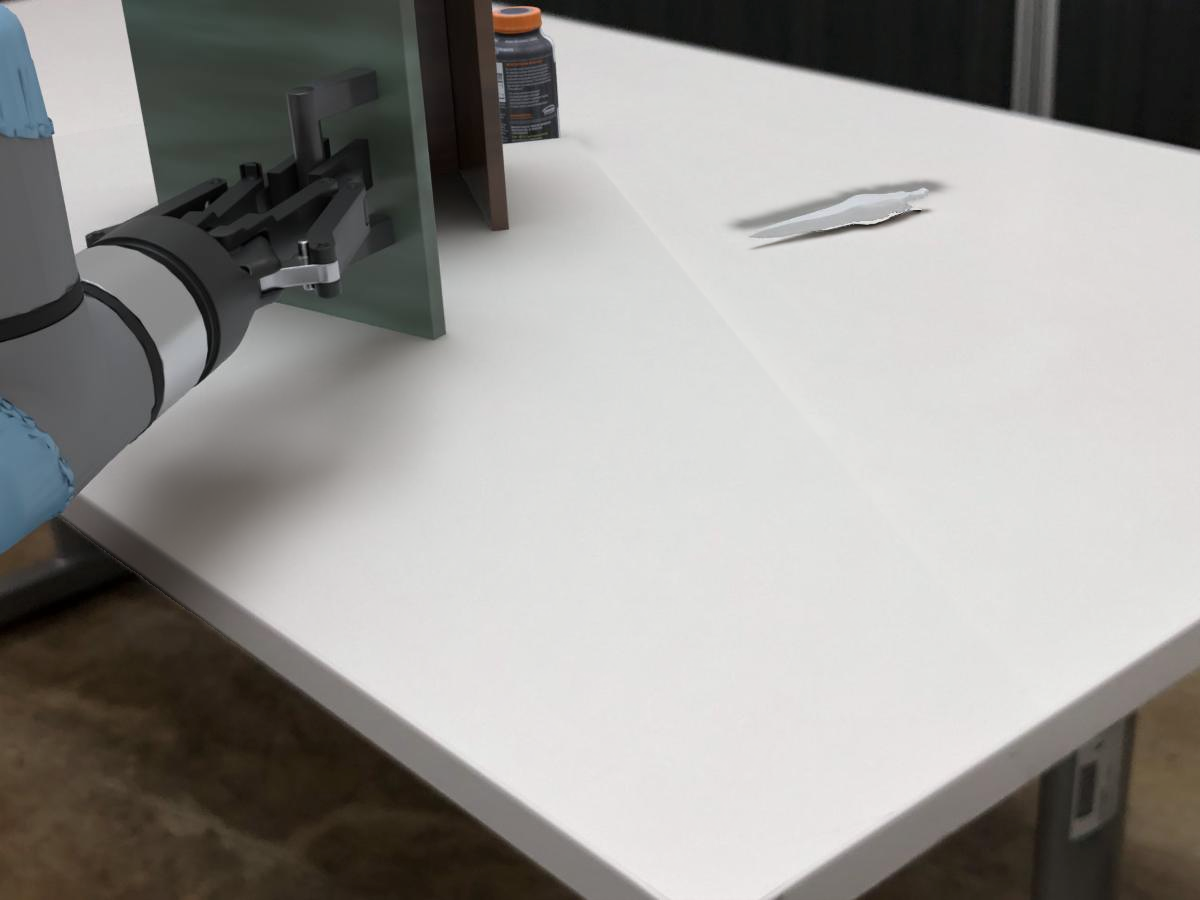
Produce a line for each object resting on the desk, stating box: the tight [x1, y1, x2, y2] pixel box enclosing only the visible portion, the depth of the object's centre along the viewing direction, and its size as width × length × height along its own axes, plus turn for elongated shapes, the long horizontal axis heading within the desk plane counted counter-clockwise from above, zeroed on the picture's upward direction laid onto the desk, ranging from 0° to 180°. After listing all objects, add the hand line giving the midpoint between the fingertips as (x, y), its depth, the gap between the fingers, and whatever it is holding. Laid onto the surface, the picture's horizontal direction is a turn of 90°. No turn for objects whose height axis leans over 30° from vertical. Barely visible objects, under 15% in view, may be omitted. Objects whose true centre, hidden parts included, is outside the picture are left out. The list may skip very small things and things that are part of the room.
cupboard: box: [414, 0, 510, 232], centre depth 108 cm, size 16×22×24 cm
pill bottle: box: [492, 5, 562, 145], centre depth 129 cm, size 6×6×11 cm
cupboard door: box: [120, 0, 447, 341], centre depth 91 cm, size 7×22×24 cm, turn 56°
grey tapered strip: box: [747, 187, 929, 239], centre depth 110 cm, size 15×3×2 cm, turn 116°
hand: (344, 161), depth 88 cm, fingers closed on cupboard door, 2 cm apart
